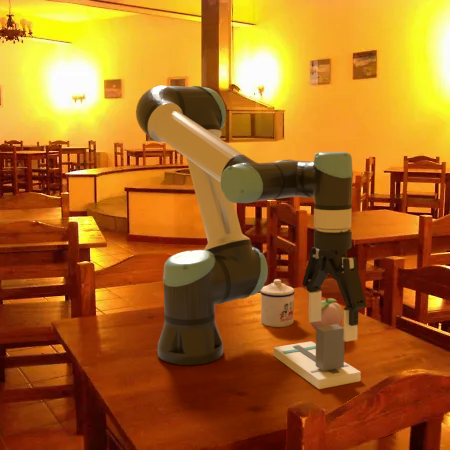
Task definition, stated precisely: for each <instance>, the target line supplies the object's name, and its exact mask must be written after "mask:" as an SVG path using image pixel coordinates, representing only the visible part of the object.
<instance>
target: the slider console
mask: <svg viewBox="0 0 450 450" xmlns="http://www.w3.org/2000/svg"><path fill="white" fill-rule="evenodd" d="M273 357H274V358H276V359H277V360H279V361H280V362H281V363H283V364H284V365H286V366H287V367H288V368H289V369H291V370H292V371H293V372H295V373H296V374H297V375H298V376H300V377H301V378H303V379H305V380H306V381H307V382H308V383H310V385H312V386H313V387H315V388H317V389H318V390H323V389H326V388H332V387H337V386H342V385H347V384H353V383H359V382H361V379H362V377H361V373H362V372H361V371H360V370H358V369H357V368H355V367H354V366H352V365H350V364H349V363H347V362H345V361H344V367H343V368H337V369H332V370H326V371H322V370H321V369H319V368H318V367H316V342H314V341H305V342H298V343H294V344H292V343H291V344H287V345H280V346H274V347H273Z"/></svg>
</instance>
